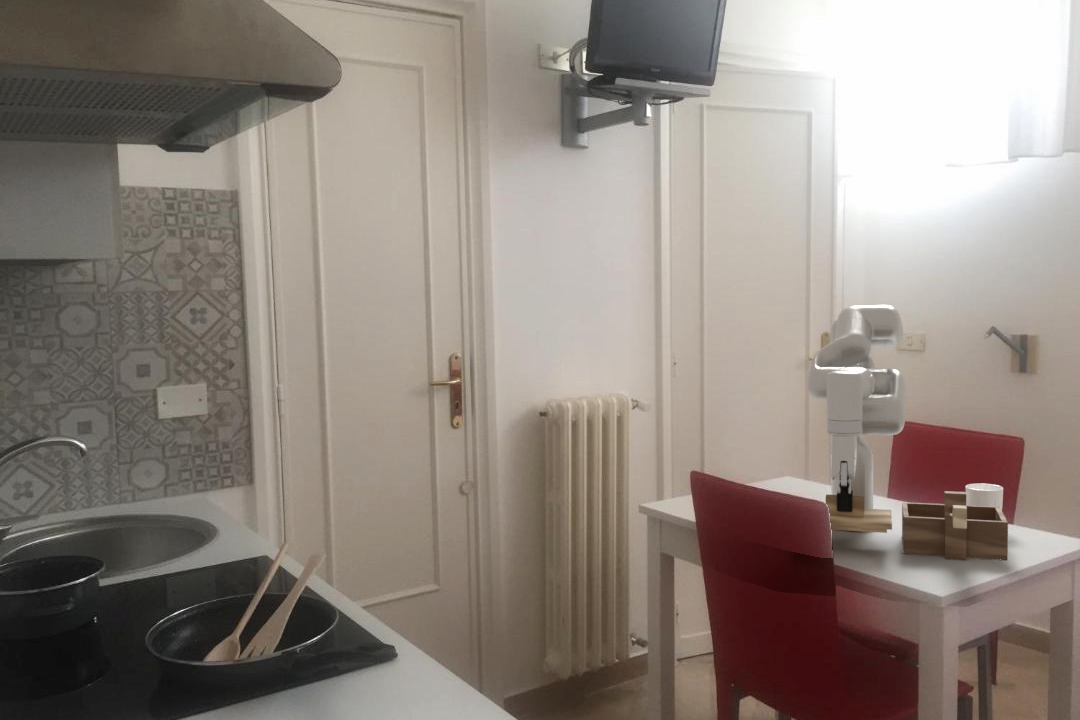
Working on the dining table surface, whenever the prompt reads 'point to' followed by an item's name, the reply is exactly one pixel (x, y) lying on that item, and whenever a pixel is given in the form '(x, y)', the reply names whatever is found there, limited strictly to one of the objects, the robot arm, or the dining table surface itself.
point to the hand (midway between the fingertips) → (844, 509)
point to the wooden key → (959, 516)
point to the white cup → (984, 495)
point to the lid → (858, 517)
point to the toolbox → (954, 530)
